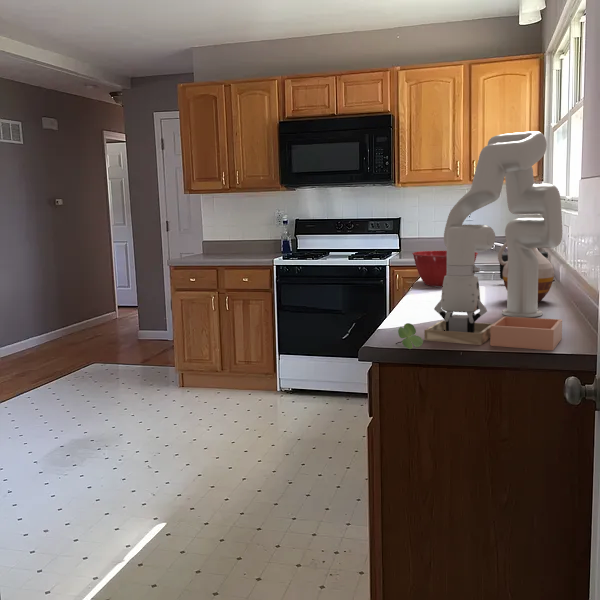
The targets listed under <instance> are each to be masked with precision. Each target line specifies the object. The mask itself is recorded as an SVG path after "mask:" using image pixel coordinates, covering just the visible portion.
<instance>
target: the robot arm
mask: <svg viewBox="0 0 600 600" xmlns="http://www.w3.org/2000/svg"><path fill="white" fill-rule="evenodd" d="M547 146H548V144H547V139H546V137H545V135H544V134H543V132H540V131H535V130H534V131H524V132H513V133H504V134H502V133H501V134H497V135H494V136H492V137H490V138H489V139H488V142H487V145H485V146H484V147H483V148H482V149H481V151H480V153H479V156H478V161H477V163H476V167H475V171H474V175H473V180H472V183H471V187H470V189H469V190H468V191H467V192H466V193H465V194H464V195H463V196H462V197H461V198H460V199H459V200H458V201H457V202H456V203H455V204H454V205H453V207H452V208H451V210H450V211H449V213H448V216H447V219H446V224H445V227H444V232H443V243H444V245H445V247H446V251H447V275H446V276H444V281H443V287H441V296H440V297H441V299H440V300H439V302H438V303H437V304H436V305H435V307H434V308H433V309H434V311H435V312H436V313H438V314H439V316H440V317H441V318H442V319H443V321H446V331H449V317H450V316H452V315H454V313H466V314H467V315H468V318H469V323H468V332H470V333H474V332H475V323H476V321H477V320H479V318H481V317H482V316H483V315H485V314H486V313H488V309H487V308H486V307H485V305H484V304H483V302H481V292H480V284H479V282H480V281H479V278H478V275H476V273H480V272H481V270H480V269H481V268H480V267H477V266H476V264H475V263H476V260H475V252H486V251H488V250H490V249H492V247H493V246H494V245H495V243H496V233H495V230H494V229H493V228H492V227H491V226H489V225H486V224H464V221H465V220H466V219H467V218H468V217H469V216H470V215H471V214H473V213H474V212H475V211H477V210H478V211H479V209H482V208H483V207H485V206H488V205H490V204H492V203H493V202H496V201H497V200H498V199H499V198H500V197H501V193H502V188H503V185H504V180H505V189H506V190H505V192H506V202H507V203H506V204H507V207H508V210H509V212H510V213H511V214H512V215H513V214H514V215H518V216H519V215H520V216H535V215H536V216H537V215H538V216H541V217H519V218H513V219H511V220H510V221H509V222H508V223H507V224H506V226H505V229H504V236H505V243H507V247H506V249H507V253H508V283H507V290H506V291H507V293H506V298H507V299H506V300H507V301H506V308H505V309H502V310H501V314H502V315H504V316H507V317H525V318H538V317H542V315H543V311H542V310H540V309H538V305H539V304H538V266H539V263H538V259H537V256H536V255H535V253H534V252H533V250H532V249H531V248H536V249H554V248H558V246H560V244H561V242H562V240H563V218H562V217H563V216H562V215H563V214H562V200H561V195H560V194H561V193H560V191H559V189H558V188H557V186H556V185H554V184H551V183H540V184H539V183H535V179H534V168H533V166H534V165H535V164H537V163H538V162H539V161H540V160H541V159H542V158H543V157H544V155H545V154H546V151H547V148H548V147H547ZM478 310H479V312H477V313H475V312H476V311H478Z"/></svg>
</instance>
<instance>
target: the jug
mask: <svg viewBox="0 0 600 600" xmlns="http://www.w3.org/2000/svg"><path fill="white" fill-rule="evenodd" d="M505 249H507V243H506V242H504V243H503V245H501V246H500V248H499V251H498V253H497V261H498V263H499V265H500V264H501V265H504V268H503V279H502V280H503V284H504V287H505V289H506V291H507V283H508V261H506V262H504V261H503V260H502V254H504V251H505ZM531 249H532V250H533V252H534V253H535V255H536V256H537V259H538V263H539V266H538V303H541V301H543V299H544V298H545V297H546V296H547V295H548V293H549V292H550V289H551V287H552V286H553V282H554V277H555V270H554V266H553V264H552V263H551V261H550V260H549V259H548V258H545V257H544V256H543V255H542V254H541V253H540V252H541V251H540V250H538V248H531Z"/></svg>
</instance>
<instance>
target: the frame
mask: <svg viewBox="0 0 600 600" xmlns="http://www.w3.org/2000/svg"><path fill="white" fill-rule="evenodd" d="M493 324H494V323H489V322H488V323H487V322H475V332H474V333H470V332H455V331H446V321H445V320H440V321H438V322H436V323H434V324H433V325H431V326H429V327H427V328H426V329H424V341H427V342H428V341H431V342H441V343H443V342H444V343H455V344H466V345H477V346H478V345H479V346H482V345H484V343H486V342H487V341H488V340H489V339H490V336H491V325H493ZM444 330H445V331H444Z"/></svg>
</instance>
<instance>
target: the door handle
mask: <svg viewBox="0 0 600 600" xmlns="http://www.w3.org/2000/svg"><path fill="white" fill-rule="evenodd" d="M539 252H540V253H541V254H542V255H543V256H544V257H545V258H546V259H548V257H549V252H548V251H539ZM502 260H503V261H504V262H506V261H508V252H505V253H502ZM503 268H504V265H501V264H500V263H499V278H500V279H501V280H503Z"/></svg>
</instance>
